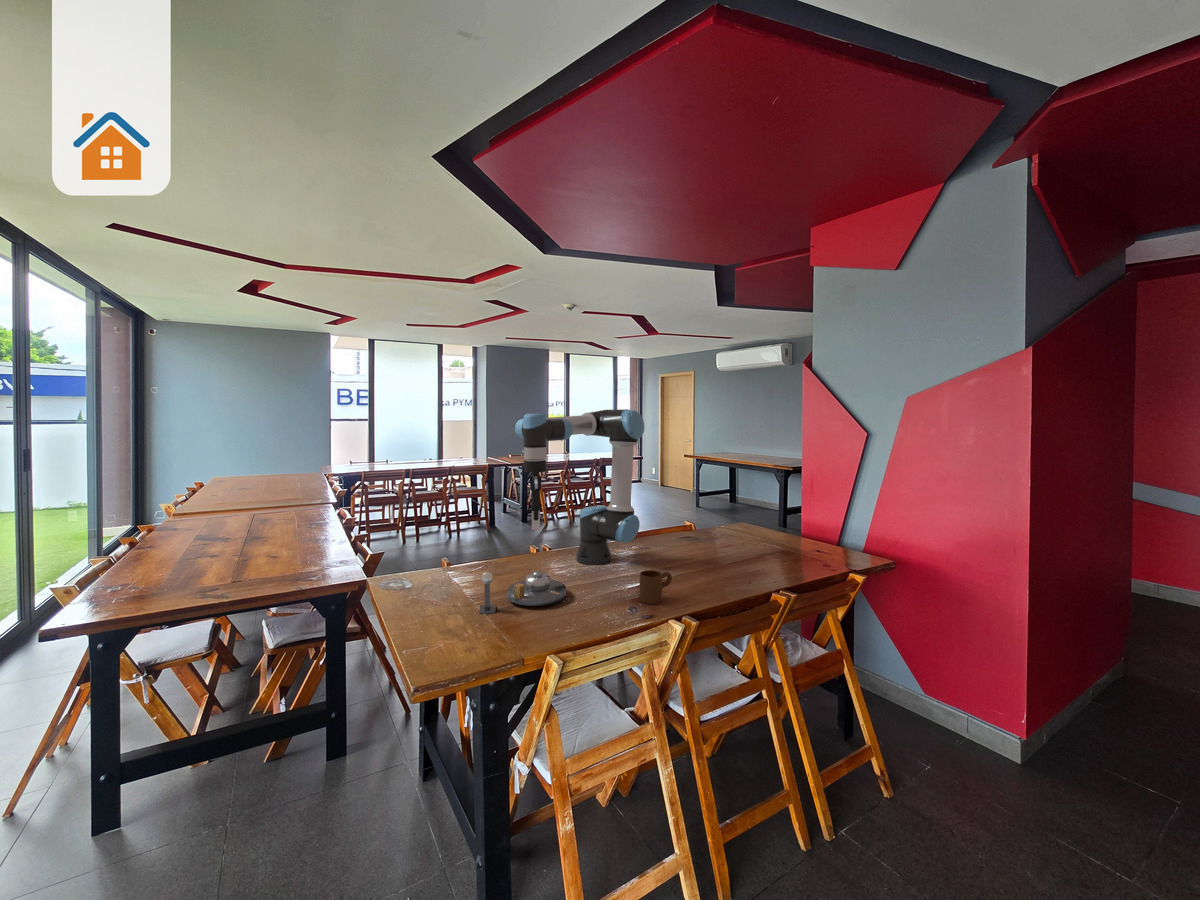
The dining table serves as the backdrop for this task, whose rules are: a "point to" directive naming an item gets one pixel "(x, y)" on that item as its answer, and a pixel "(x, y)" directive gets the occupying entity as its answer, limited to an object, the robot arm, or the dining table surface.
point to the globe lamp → (487, 594)
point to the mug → (652, 586)
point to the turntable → (536, 594)
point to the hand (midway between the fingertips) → (536, 529)
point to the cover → (537, 581)
